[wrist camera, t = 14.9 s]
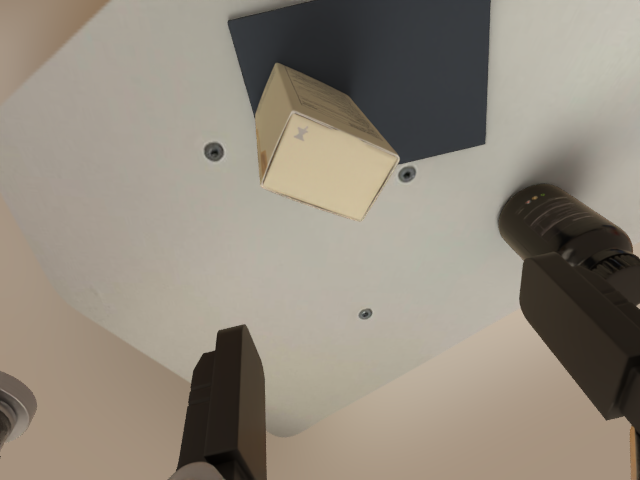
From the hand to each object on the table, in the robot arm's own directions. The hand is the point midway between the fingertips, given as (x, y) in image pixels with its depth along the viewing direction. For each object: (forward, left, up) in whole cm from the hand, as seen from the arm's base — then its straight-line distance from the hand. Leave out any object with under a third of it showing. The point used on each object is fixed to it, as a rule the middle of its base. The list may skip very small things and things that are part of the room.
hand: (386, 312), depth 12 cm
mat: (+5, 0, -23) cm, 24 cm away
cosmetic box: (0, 0, -23) cm, 23 cm away
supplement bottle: (+19, -15, -23) cm, 34 cm away
